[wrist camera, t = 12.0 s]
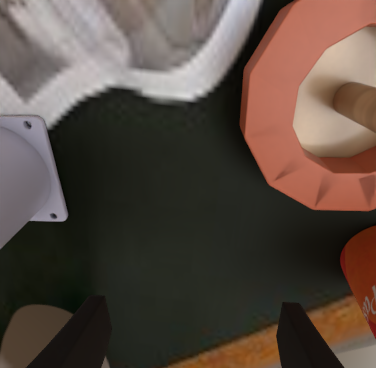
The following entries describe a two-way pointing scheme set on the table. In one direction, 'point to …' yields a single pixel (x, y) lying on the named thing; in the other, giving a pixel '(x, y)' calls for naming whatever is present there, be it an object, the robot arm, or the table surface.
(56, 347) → the robot arm
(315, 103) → the post
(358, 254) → the coffee cup
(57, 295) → the table surface
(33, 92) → the table surface
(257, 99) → the ring
